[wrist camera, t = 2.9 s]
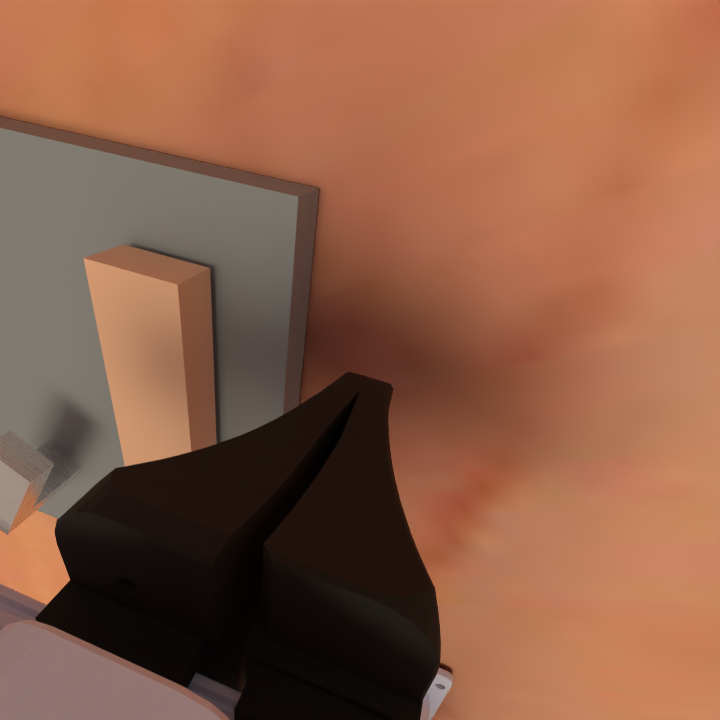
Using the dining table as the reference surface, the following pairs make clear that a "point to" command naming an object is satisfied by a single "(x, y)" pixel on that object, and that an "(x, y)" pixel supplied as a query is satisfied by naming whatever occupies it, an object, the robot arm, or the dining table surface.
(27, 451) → the keeper
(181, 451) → the link
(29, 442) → the board
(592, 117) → the dining table surface
